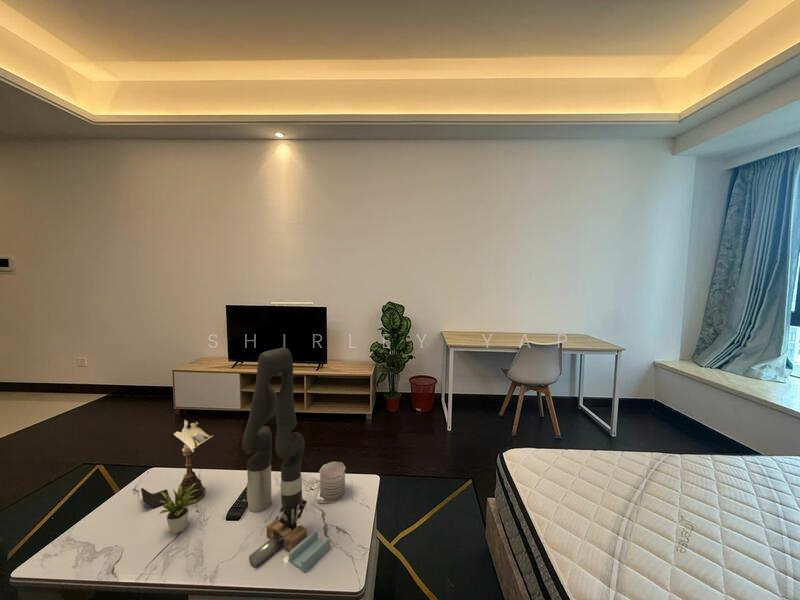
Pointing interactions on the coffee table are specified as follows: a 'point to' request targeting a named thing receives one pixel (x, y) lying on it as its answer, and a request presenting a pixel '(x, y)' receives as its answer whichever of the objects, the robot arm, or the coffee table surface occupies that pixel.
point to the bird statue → (189, 449)
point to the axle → (266, 550)
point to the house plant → (177, 510)
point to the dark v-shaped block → (154, 498)
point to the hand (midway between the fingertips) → (292, 532)
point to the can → (332, 481)
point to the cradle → (309, 551)
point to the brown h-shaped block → (286, 534)
